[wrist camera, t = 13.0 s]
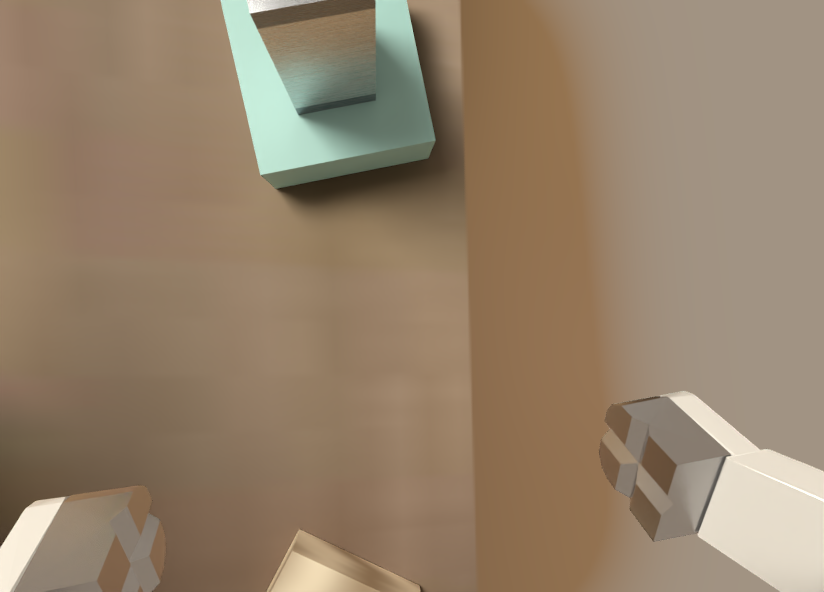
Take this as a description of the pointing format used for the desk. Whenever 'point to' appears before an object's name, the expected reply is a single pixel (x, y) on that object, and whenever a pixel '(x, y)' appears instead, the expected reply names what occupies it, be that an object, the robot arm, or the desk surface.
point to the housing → (320, 49)
